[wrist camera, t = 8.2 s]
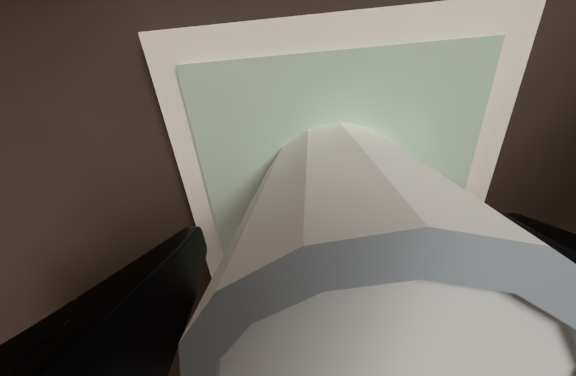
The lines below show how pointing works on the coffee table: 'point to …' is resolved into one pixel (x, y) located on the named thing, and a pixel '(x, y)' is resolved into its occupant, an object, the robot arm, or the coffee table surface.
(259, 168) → the plate
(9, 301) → the coffee table surface
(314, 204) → the white-topped cylinder
